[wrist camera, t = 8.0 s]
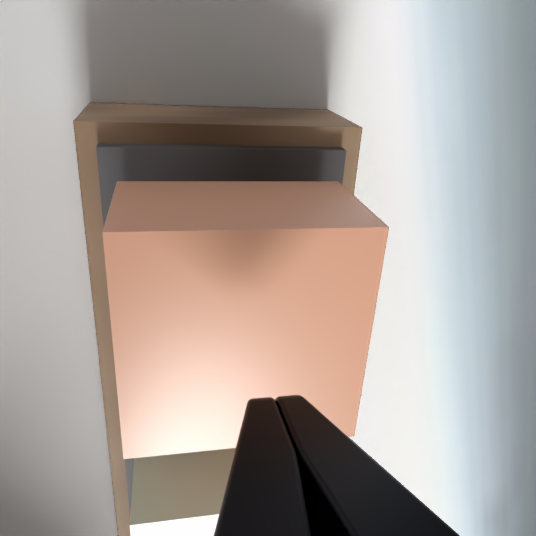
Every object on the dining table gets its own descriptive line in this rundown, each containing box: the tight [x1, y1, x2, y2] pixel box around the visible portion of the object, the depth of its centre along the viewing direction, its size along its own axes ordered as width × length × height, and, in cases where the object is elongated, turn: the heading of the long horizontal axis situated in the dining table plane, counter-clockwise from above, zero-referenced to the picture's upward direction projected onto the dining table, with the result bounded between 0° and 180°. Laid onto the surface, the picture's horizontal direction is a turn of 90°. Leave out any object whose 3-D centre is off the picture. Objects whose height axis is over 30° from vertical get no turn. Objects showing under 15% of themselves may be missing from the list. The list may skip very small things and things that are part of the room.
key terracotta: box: [102, 181, 389, 459], centre depth 11 cm, size 5×5×3 cm
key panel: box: [73, 103, 362, 536], centre depth 18 cm, size 7×21×3 cm, turn 177°
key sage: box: [130, 448, 236, 536], centre depth 14 cm, size 5×5×3 cm
